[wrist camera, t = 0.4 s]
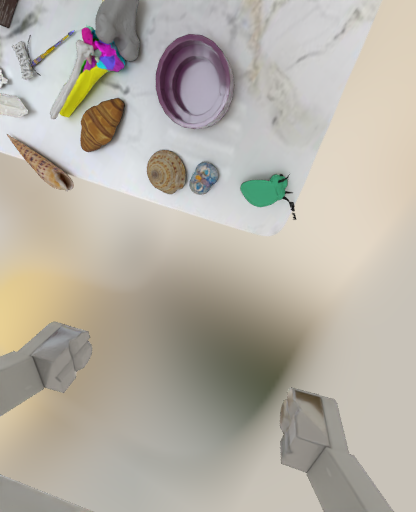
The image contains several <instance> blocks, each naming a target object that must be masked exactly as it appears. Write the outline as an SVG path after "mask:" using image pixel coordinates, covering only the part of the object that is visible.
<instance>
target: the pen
mask: <svg viewBox="0 0 416 512" xmlns="http://www.w3.org/2000/svg"><path fill="white" fill-rule="evenodd" d="M74 31H75V30H74ZM74 31H71V32H69V33H68V35H67V36H66V37H64V38H63V39H62V40H60V41H59V42H58V43H57V44H55V45H54V46H52V47H51V48H49V49H48V50H47V51H46V52H45V53H44V54H42V55H40V56H39V57H38V58H36V59H35V60H33V61H32V66H34V65H36V64H38V63H39V62H40V61H41V60H42V59H43V58H44V57H45V56H46V55H47V54H48V53H50V52H51V51H52V50H53V49H54V48H55V47H57V46H58V45H59V44H60V43H61V42H62V41H63V40H65V39H66V38H67V37H68V36H71V35H72V33H73V32H74ZM32 66H31V67H32Z"/></svg>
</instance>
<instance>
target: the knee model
mask: <svg viewBox="0 0 416 512" xmlns="http://www.w3.org/2000/svg"><path fill="white" fill-rule="evenodd" d="M138 3H139V0H102V4H101V5H100V7H99V10H98V13H97V15H96V30H94V29H93V28H92V27H90V26H87V28H83V29H82V38H83V40H84V42H83V41H81V40H78V41H77V42H76V46H77V60H76V63H75V66H74V69H73V71H72V73H71V75H70V78H69V79H68V81H67V83H66V84H65V85H64V86H63V88H62V89H61V92H60V93H59V96H58V97H57V99H56V100H55V102H54V104H53V107H52V109H51V111H50V115H51V119H56V118H57V116H58V114H59V113H60V114H61V115H62V116H65V117H70V115H71V114H72V113H73V111H74V110H75V109H76V107H77V106H78V105H79V104H80V103H81V101H82V100H83V99H84V98H85V97H86V95H87V94H88V92H89V91H90V89H91V88H92V86H93V85H94V84H95V83H96V82H97V81H98V80H99V78H101V77H102V76H103V75H104V74H105V73H106V72H107V71H108V72H109V71H116V72H118V71H119V70H121V69H123V68H124V65H125V60H127V61H133V60H135V59H136V58H137V57H138V49H139V39H138V37H137V34H136V13H137V7H138ZM124 59H125V60H124Z"/></svg>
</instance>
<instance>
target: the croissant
mask: <svg viewBox="0 0 416 512" xmlns="http://www.w3.org/2000/svg"><path fill="white" fill-rule="evenodd" d="M124 107H125V105H124V103H123V101H122V100H120V99H119V98H116V99H111V100H107V101H104V102H101V103H100V104H99V105H98V106H93V107H91V108H90V109H89V110H87V111H86V112H85V113H84V115H83V117H82V120H81V125H82V129H81V147H82V149H83V150H84V151H86V152H91V151H94V150H97V149H100V147H101V146H102V145H105V144H107V143H108V142H110V141H111V140H112V137H113V135H114V133H115V130H116V127H117V125H118V124H119V123H120V120H121V117H122V115H123V111H124Z"/></svg>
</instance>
